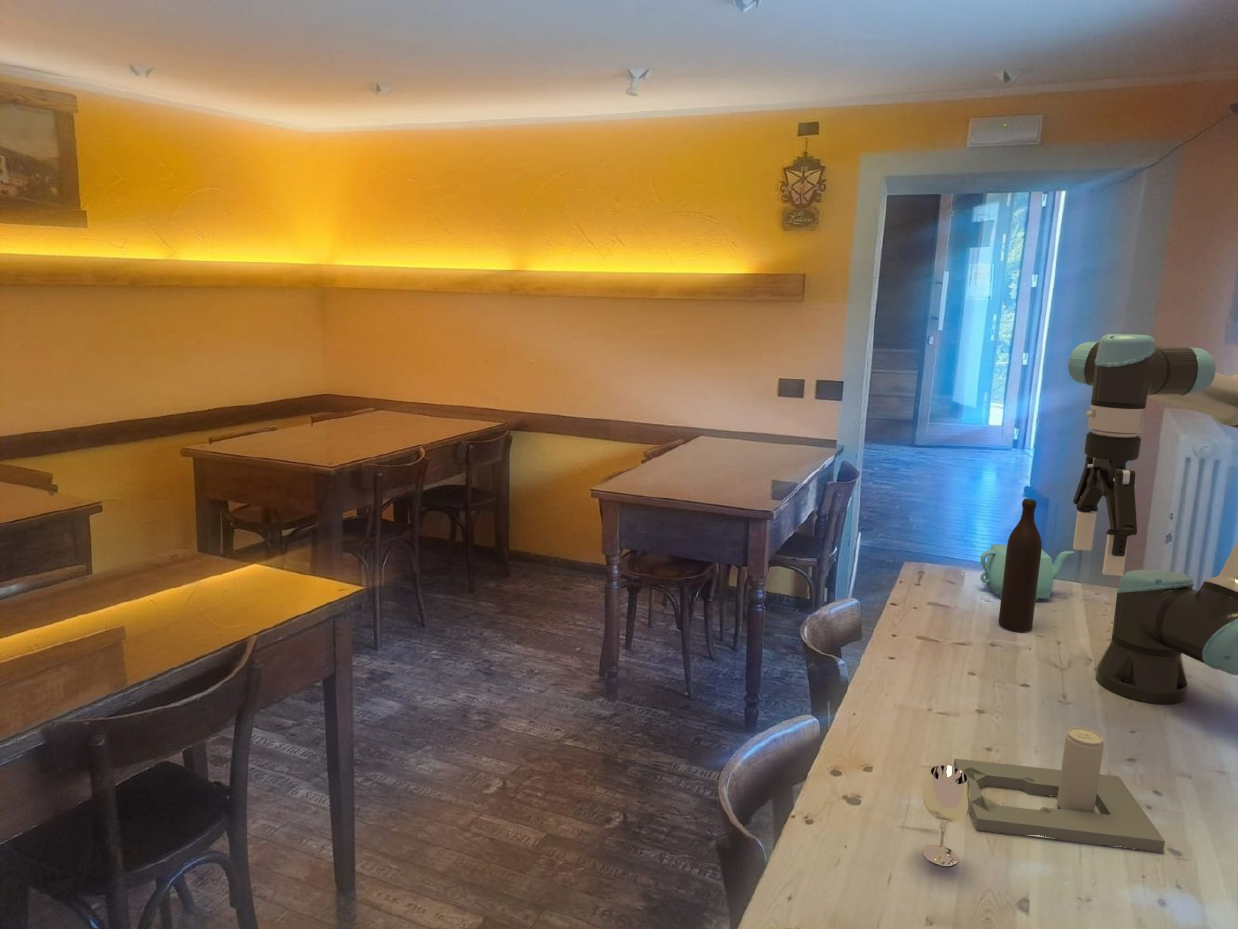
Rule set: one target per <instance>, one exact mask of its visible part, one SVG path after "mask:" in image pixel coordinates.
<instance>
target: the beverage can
mask: <svg viewBox="0 0 1238 929" xmlns="http://www.w3.org/2000/svg"><path fill="white" fill-rule="evenodd" d="M1066 732H1067V733H1066V734H1065V741H1064V748H1063V755H1062V762H1061V769H1060V770H1061V776H1060V784H1059V791H1058V797H1057V801H1056V802H1057V803H1056V804H1057V805H1058V807H1059V809H1064V810H1073V811H1081V812H1090V813H1095V810H1096V809H1095V808H1096V804H1095V802H1096V795H1097V788H1098V781H1099V774H1100V773H1101V766H1102V759H1103V752H1104V745H1105V743H1104V738H1103V736H1102V735H1101V734H1099V733H1098V732H1096V731H1094V730H1091V729H1089V728H1085V727H1077V726H1076V727H1070V728H1069V729H1067V731H1066Z"/></svg>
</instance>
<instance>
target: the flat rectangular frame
mask: <svg viewBox="0 0 1238 929" xmlns="http://www.w3.org/2000/svg"><path fill="white" fill-rule="evenodd" d="M953 767H955V768H957V769H960V770H961V771H963V772H964V773H965V774H966V775H967V777H968V781H969V787H970V807H969V811H970V812H969V811H968V812H969V814H970V813H971V815H970V817H972V818H971V820H972V819H973V820H972V822H973V821H974V823H973V825H974V824H975V826H974V828H976V829H977V830H976V829H975V830H976V831H979V832H980V831H982V832H990V833H997V834H998V833H999V834H1004V835H1005V834H1007V835H1013V834H1015V836H1021V835H1040V836H1041V835H1042V836H1044V837H1045V836H1046V837H1049V838H1050V837H1051V838H1055V839H1060V840H1059V841H1062V840H1063V842H1073V843H1079V844H1086V845H1094V844H1095V845H1096V846H1102V845H1109V846H1108V847H1111V846H1119V847H1120V846H1121V847H1126V848H1125V849H1127V848H1135V849H1140V850H1139V851H1143V850H1146V851H1145V852H1151V851H1153V853H1159V852H1162V853H1161V854H1164V850H1165V842H1166V841H1165V839H1164V838H1163V836H1162V835H1161V833H1160V832H1159V831H1158V829H1157V828H1156V826H1155V825H1154V824H1153V822H1152V821H1151V819H1150V818H1149V816H1148V815H1147V814H1146V812H1145V811H1144V810H1143V808H1142V807H1141V806H1140V804H1139V802H1138V801H1137V800H1136V799H1135V797H1134V796H1133V794H1132V793H1131V792H1130V790H1129V789H1128V787H1127V785H1126V784H1125V783H1124V781H1123V780H1122V779H1121V778H1120V776H1119V775H1109V774H1099V781H1098V788H1097V795H1096V802H1095V807H1097V809H1098V808H1099V809H1098V811H1099V810H1100V811H1099V812H1100V813H1097V812H1096V813H1095V812H1094V813H1090V812H1081V811H1073V810H1064V809H1060V808H1054V807H1047V806H1046V807H1045V806H1042V807H1041V808H1039V809H1036V808H1035V809H1034V808H1033V809H1032V808H1025V807H1024V808H1023V807H1017V806H1008V805H1007V806H1006V805H1000V804H999V803H996V802H994V801H993V800H991V799H989V798H987V797H985V796H984V795H983V794H982V792H981V789H982V788H985V787H992V788H994V787H995V788H1000V789H1001V788H1003V789H1012V790H1020V791H1023V792H1025V793H1026V792H1027V793H1026V794H1028V793H1029V795H1034V794H1036V795H1037V794H1038V795H1037V796H1043V795H1050V796H1049V797H1052V796H1057V797H1056V798H1058V791H1059V784H1060V776H1061V769H1054V768H1053V769H1052V768H1047V767H1035V766H1026V765H1019V764H1018V765H1017V764H1009V763H1000V762H999V763H997V762H992V761H990V762H989V761H982V760H981V761H980V760H973V759H972V760H971V759H964V758H963V759H962V758H956V757H955V758H954V759H953ZM1051 795H1052V796H1051ZM1101 813H1102V814H1101ZM1017 834H1018V835H1017ZM1119 847H1118V848H1119ZM1135 849H1134V850H1135ZM1154 851H1155V852H1154Z"/></svg>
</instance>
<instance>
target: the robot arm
mask: <svg viewBox="0 0 1238 929" xmlns="http://www.w3.org/2000/svg"><path fill="white" fill-rule="evenodd" d="M1155 342H1156V340H1155V338H1154V337H1153V336H1152V335H1146V334H1129V333H1128V334H1125V333H1123V334H1121V333H1120V334H1119V333H1109V334H1105V335H1103V336H1102V337H1101V338H1100V339H1099V340H1098V341H1087V342H1086V341H1085V342H1082V343H1080V344H1078V345H1077V346H1076V347H1075V348H1074V349H1073V350H1072V351H1071V354H1069V355H1070V356H1069V358H1068V361H1067V362H1068V363H1067V369H1068V370H1067V371H1068V373H1069V375H1070V377H1071V378H1072V380H1074V381H1075V382H1077V383H1079V384H1082V385H1083V384H1084V385H1087V386H1092V391H1091V400H1090V410H1087V411H1086V413H1085V414H1086V417H1087V418H1088V422H1087V423H1088V424H1087V428H1088V429H1089V430H1091V431H1088V433H1086V435H1085V445H1084V451H1083V452H1084V454H1085V455H1086V457H1085V462H1084V463H1085V464H1084V467H1083V471H1082V474H1081V477H1080V480H1079V483H1078V485H1077V488H1076V491H1075V494H1074V497H1073V500H1072V501H1073V504H1074V505H1076V506H1075V507H1076V511H1077V514H1076V522H1075V530H1074V535H1073V536H1074V538H1073V544H1072V545H1073V546H1072V549H1073V550H1075V551H1077V550H1079V551H1089V552H1090V551H1092V549H1093V542H1094V533H1095V528H1096V519H1097V513H1096V512H1099V508H1098V504H1099V502H1100V501H1101V498H1102V497H1104V498H1105V502H1106V507H1107V508H1106V509H1107V514H1108V521H1109V526H1110V527H1109V529H1108V530H1106V532H1105V535H1107V536H1106V544H1105V551H1104V557H1103V558H1104V559H1103V564H1102V565H1103V566H1102V574H1103V575H1104V576H1106V575H1107V576H1120V580H1119V584H1118V589H1117V590H1116V601H1115V608H1114V618H1113V623H1112V624H1113V626H1112V632H1111V640H1110V642H1109V644H1108V646H1107V647H1106V650H1105V651H1104V653H1103V655H1102V657H1101V659H1100V660H1099V662H1098V663H1097V665H1096V666H1097V667H1096V673H1095V679H1096V681H1097V682H1098V683H1099V684H1100V685H1101V686H1103V687H1104V688H1106V689H1107V690H1109V691H1110V692H1113V693H1115V694H1118V695H1120V696H1123V697H1126V698H1130V699H1132V700H1137V701H1140V702H1146V703H1152V704H1162V705H1165V704H1169V705H1170V704H1177V703H1181V702H1183V701H1184V700H1186V698H1187V695H1188V688H1189V685H1188V680H1187V676H1186V671H1185V667H1184V663H1183V657H1182V655H1185V656H1187V657H1189V658H1192V659H1193V660H1196V661H1198V662H1200V663H1202V664H1205V665H1206V666H1208V667H1209V668H1211V669H1214V670H1220V671H1222V672H1224V673H1227V674H1230V675H1233V676H1238V540H1237V541H1236V543H1235V546H1234V547H1233V549H1232V551H1231V552H1230V554H1229V555H1228V558H1227V560H1226V561H1225V564H1224V565H1223V567H1222V569H1221V571H1220V573H1219V575H1217V576H1214V577H1211V578H1207V579H1204V580H1203V582H1202V584H1201V586H1200V588H1199V590H1197V589H1193V587H1195V586H1194V585H1195V583H1194V580H1193V578H1192V577H1191V576H1190V575H1188V574H1184V573H1182V572H1181V573H1180V572H1175V571H1168V570H1157V569H1136V570H1129V571H1126V572H1125V565H1126V564H1125V563H1126V558H1127V549H1128V543H1129V538H1130V537H1131V536H1136V535H1137V534H1138V527H1137V526H1138V525H1137V524H1138V523H1137V508H1136V507H1137V506H1136V492H1135V482H1136V472H1135V470H1130V469H1129V470H1128V469H1127V466H1126V465H1127V463H1128V462H1129V461H1136V460H1137V459H1138V458H1139V456H1140V451H1141V450H1140V449H1141V442H1142V438H1141V437H1140V436H1139V434H1141V433H1143V431H1144V424H1145V416H1146V412H1147V401H1148V400H1147V399H1149V400H1153V401H1157V402H1161V403H1164V404H1167V405H1172V406H1175V407H1179V408H1183V409H1187V410H1189V411H1194V412H1198V413H1201V414H1205V415H1209V416H1211V418H1213V420H1214V421H1215V422H1217V423H1219V424H1221V425H1223V426H1228V427H1232V428H1234V429H1237V430H1238V374H1232V375H1226V374H1223V373H1218V372H1216V370H1217V366H1216V362H1215V359H1214V357H1213V356H1212V355H1211V354H1210V352H1208V351H1207V350H1206V349H1203V348H1200V347H1192V346H1181V347H1180V346H1179V347H1176V346H1173V347H1172V346H1162V345H1161V346H1159V345H1156V344H1155ZM1124 572H1125V573H1124Z"/></svg>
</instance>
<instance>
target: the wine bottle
mask: <svg viewBox="0 0 1238 929" xmlns="http://www.w3.org/2000/svg"><path fill="white" fill-rule="evenodd" d="M1037 504H1038V503H1037V500H1035V499H1033V498H1023V500H1022V502H1021V507H1022V510H1021V516H1020V518H1019V519H1020V520H1019V521H1018V523H1017V524H1016V526H1014V528H1013V530H1012V531H1011V533H1010V534H1009V537H1008V540H1007V544H1006V545H1007V551H1006V560H1005V568H1004V577H1003V586H1002V595H1000V607H999V612H998V613H999V616H998V625H999V626H1000V628H1002V629H1005V630H1007V631H1010V632H1016V633H1027V632H1030V631H1032V630H1033V624H1034V617H1035V615H1034V614H1035V607H1036V601H1035V600H1036V592H1037V584H1038V576H1039V567H1040V559H1041V549H1042V550H1043V548H1042V547H1043V545H1042V544H1043V543H1042V537H1041V534H1040V532H1039V529H1038V527H1037V525H1036V521H1035V512H1036V508H1037Z"/></svg>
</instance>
